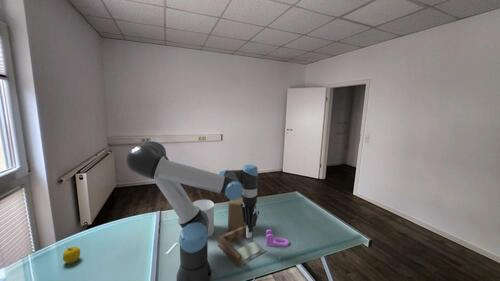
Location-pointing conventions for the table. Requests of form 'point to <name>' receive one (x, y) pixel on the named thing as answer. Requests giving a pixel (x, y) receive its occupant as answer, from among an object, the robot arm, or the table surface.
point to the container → (207, 212)
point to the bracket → (275, 240)
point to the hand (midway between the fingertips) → (249, 236)
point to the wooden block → (235, 214)
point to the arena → (239, 246)
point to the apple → (71, 254)
